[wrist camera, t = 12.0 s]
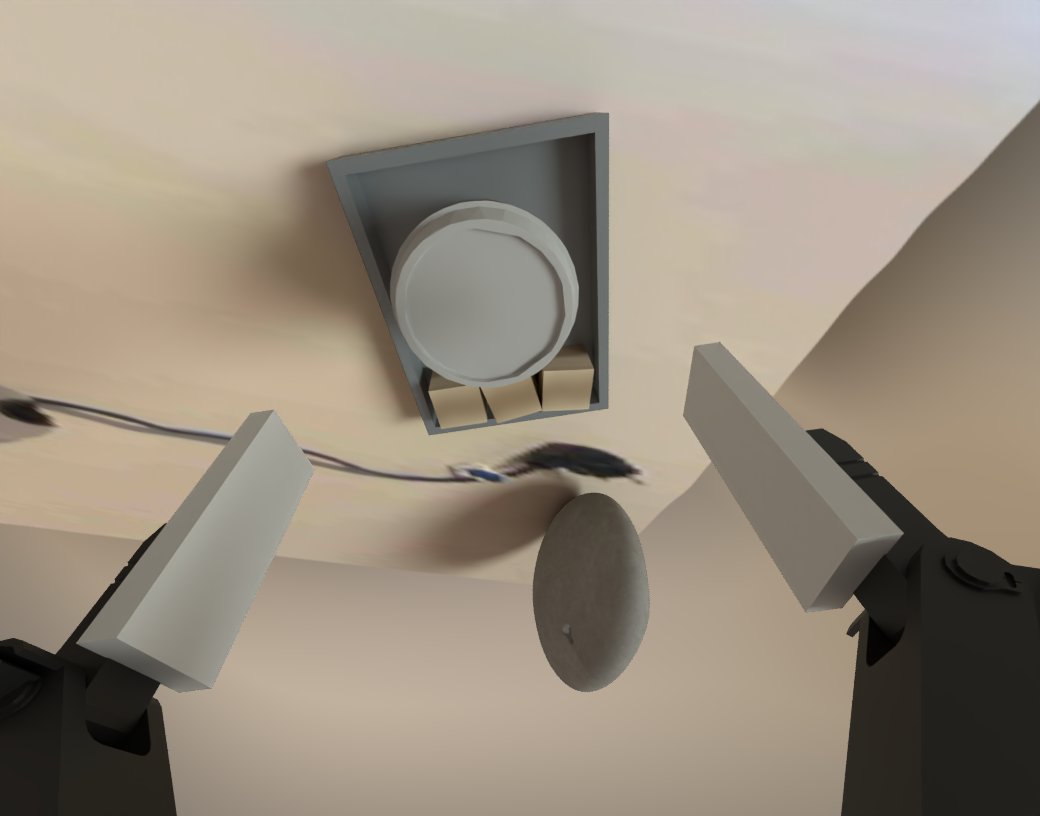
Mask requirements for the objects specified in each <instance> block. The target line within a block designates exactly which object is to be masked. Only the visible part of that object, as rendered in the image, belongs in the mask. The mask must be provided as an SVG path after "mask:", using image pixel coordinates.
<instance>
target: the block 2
mask: <svg viewBox="0 0 1040 816" xmlns="http://www.w3.org/2000/svg"><path fill="white" fill-rule="evenodd" d="M481 389H482V391H483V393H484V395H485V398H486V400H487V402H488V404H489V406H490V408H491V410H492V412H493V415H494V417H495V419H496V421H497V423H501V422H505V421H508V420H511V419H515V418H518V417H522V416H525V415H529V414H532V413H536V412H539V411H542V406H541V401H540V395H539V390H538V385H537V382H536V379H535V376H534V375H532V376H530V377H529V378H527V379H525V380H522V381H519V382H516V383H513V384H510V385H506V386H502V387H491V388H483V387H481Z"/></svg>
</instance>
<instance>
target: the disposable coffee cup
mask: <svg viewBox="0 0 1040 816" xmlns="http://www.w3.org/2000/svg"><path fill="white" fill-rule="evenodd" d="M578 297H579V286H578V281H577V276H576V271H575V267H574V264H573V262H572V260H571V258H570V255H569V253H568V251H567V249H566V247H565V246H564V244H563V243H562V241H561V240H560V239H559V238H558V236H557V235H556V234H555V233H554V232H553V231H552V230H551V229H550V228H549V227H548V226H547V225H546V224H545V223H544V222H543V221H541V220H540V219H538V218H537V217H535V216H533V215H532V214H530V213H529V212H527V211H525V210H523V209H520V208H518V207H515V206H513V205H509V204H504V203H501V202H498V201H495V200H488V199H485V200H477V201H469V202H462V203H458V204H455V205H452V206H448V207H446V208H443V209H442V210H440V211H438V212H436V213H434V214H432V215H430V216H429V217H427V218H426V219H425V220H423V221H422V222H421V223H420V224H419V225H418V226H417V227H416V228H415V229H414V230H413V231H412V232H411V233H410V234H409V236H408V237H407V238H406V240H405V241H404V243H403V244H402V246H401V247H400V249H399V252H398V255H397V257H396V260H395V262H394V265H393V268H392V274H391V280H390V299H391V304H392V309H393V314H394V317H395V319H396V322H397V324H398V327H399V329H400V331H401V333H402V334H403V336H404V338H405V339H406V341H407V343H408V345H409V347H410V349H411V350H412V351H413V352H414V353H415V354H416V355H417V356H418V358H419V359H420V360H421V361H422V362H423V363H424V364H425V365H426V366H427V367H429V368H430V369H432V370H433V371H435V372H436V373H438V374H440V375H441V376H443V377H444V378H446V379H449V380H451V381H454V382H457V383H460V384H463V385H466V386H473V387H483V388H491V387H502V386H506V385H510V384H513V383H516V382H519V381H522V380H525V379H527V378H529V377H530V376H532V375H534V374H535V373H537V372H539V371H540V370H541V369H543V368H544V367H545V366H546V365H547V364H548V363H549V362H551V361H552V359H553V358H554V357H555V356H556V354H557V353H558V352H559V351H560V349H561V347H562V346H563V344H564V342H565V341H566V339H567V337H568V336H569V334H570V331H571V329H572V327H573V324H574V322H575V318H576V313H577V309H578Z"/></svg>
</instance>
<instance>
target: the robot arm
mask: <svg viewBox="0 0 1040 816" xmlns="http://www.w3.org/2000/svg"><path fill="white" fill-rule="evenodd" d="M683 416H684V418H685V419H686V421H687V422H688V424H689V426H690V427H691V429H692V430H693V432H694V434H695V435H696V437H697V439H698V440H699V442H700V443H701V445H702V447H703V448H704V450H705V451H706V453H707V455H708V456H709V458H710V459H711V461H712V463H713V464H714V466H715V467H716V469H717V471H718V472H719V474H720V475H721V477H722V479H723V480H724V482H725V484H726V485H727V487H728V488H729V490H730V491H731V493H732V495H733V496H734V498H735V500H736V501H737V503H738V504H739V506H740V508H741V509H742V511H743V512H744V514H745V516H746V517H747V519H748V520H749V522H750V524H751V525H752V527H753V529H754V530H755V532H756V533H757V535H758V537H759V538H760V540H761V541H762V543H763V545H764V546H765V548H766V549H767V551H768V553H769V554H770V556H771V557H772V559H773V561H774V562H775V564H776V565H777V567H778V569H779V570H780V572H781V573H782V575H783V577H784V578H785V580H786V582H787V583H788V585H789V586H790V588H791V590H792V591H793V593H794V595H795V596H796V597H797V599H798V601H799V602H800V604H801V606H802V607H803V609H804V610H805V612H806V613H807V612H815V611H822V610H830V609H838V608H843V607H844V605H845V604H846V603H847V602H848V600H849V599H850V598H851V597H852V596H853V594H854V595H855V596H856V598H857V599H858V600H859V602H860V603H861V604H862V606H863V607H864V608H865V610H864V611H863V612H862V613H861V614H860V615H859V616H858V617H857V618H856V620H855V621H854V622H853V623H852V624H851V625H850V627H849V629H848V631H847V635H849V636H851V637H853V636H854V635H855V634H856V633H857V632H858V631H859V641H858V650H857V660H856V670H855V671H856V672H855V680H854V690H853V700H852V711H851V721H850V731H849V741H848V751H847V761H846V771H845V782H844V793H843V803H842V812H841V816H1040V569H1038V568H1031V567H1024V566H1017V565H1011V564H1010V563H1008V562H1007V561H1005V560H1004V559H1002V558H1001V557H999V556H997V555H996V554H995V553H993V552H992V551H990V550H987V549H985V548H983V547H981V546H978V545H976V544H974V543H972V542H968V541H964V540H959V539H955V538H948V537H947V536H945V535H944V534H943V533H942V532H941V531H940V530H938V529H937V528H936V527H935V526H934V525H933V524H932V523H931V522H930V521H929V520H928V519H927V518H926V517H925V516H924V515H923V514H922V513H921V512H919V511H918V510H917V509H916V508H915V507H914V506H913V505H912V504H911V503H910V502H909V501H908V500H907V499H906V498H905V497H904V496H902V494H901V493H899V492H898V491H897V490H896V489H895V488H894V487H893V486H892V485H891V484H890V483H889V482H888V481H887V480H886V479H885V478H884V477H882V476H879V475H878V472H877V471H876V470H875V469H874V468H873V467H872V466H871V465H870V464H869V463H868V462H864V460H863V459H864V458H863V457H862V456H861V455H860V454H858V453H857V452H856V451H855V450H854V449H853V448H852V447H851V446H850V445H849V444H848V443H847V442H846V441H844V440H842V439H840V438H839V437H837V436H835V435H833V434H831V433H829V432H828V431H826V430H824V429H815V430H807V431H805V430H804V429H803V428H802V427H801V426H800V425H799V424H798V423H797V422H796V421H795V420H794V419H793V418H792V417H791V416H790V415H789V413H788V412H786V410H784V408H783V407H782V406H781V405H780V404H779V403H778V402H777V401H776V400H775V399H774V398H773V397H772V396H771V395H770V394H769V393H768V392H767V391H766V390H765V388H764V387H763V386H762V385H761V384H760V383H759V382H758V381H757V380H756V379H755V378H754V377H753V376H752V375H751V374H750V373H749V372H748V371H747V370H746V369H745V368H744V367H743V366H742V365H741V364H740V363H739V361H738V360H737V359H736V358H735V357H734V356H733V355H732V354H731V353H730V352H729V351H728V350H727V349H726V348H725V347H724V346H723V345H722V344H721V343H720V342H718V343H711V344H704V345H698V346H694V352H693V358H692V364H691V370H690V376H689V383H688V389H687V395H686V401H685V407H684V413H683ZM314 470H315V469H314V467H313V466H312V464H311V463H310V461H309V460H308V458H307V457H306V456H305V454H304V453H303V451H302V450H301V448H300V447H299V445H298V444H297V442H296V441H295V439H294V438H293V436H292V435H291V434H290V432H289V431H288V429H287V428H286V426H285V425H284V423H283V422H282V420H281V419H280V417H279V416H278V414H277V413H276V412H275V410H269V411H262V412H255V413H250V415H249V416H248V417H247V419H246V420H245V421H244V423H243V424H242V425H241V427H240V428H239V429H238V431H237V432H236V433H235V434H234V436H233V437H232V438H231V440H230V441H229V442H228V444H227V445H226V446H225V448H224V449H223V450H222V452H221V453H220V454H219V456H218V457H217V458H216V460H215V461H214V462H213V463H212V465H211V466H210V467H209V469H208V470H207V471H206V473H205V474H204V475H203V477H202V478H201V479H200V481H199V482H198V483H197V485H196V486H195V487H194V489H193V490H192V491H191V492H190V494H189V495H188V496H187V498H186V499H185V500H184V502H183V503H182V504H181V506H180V507H179V508H178V510H177V511H176V512H175V514H174V515H173V516H172V517H171V519H170V520H169V521H168V523H165V524H164V525H163V526H161V527H160V528H159V529H158V530H157V531H156V532H155V533H153V534H152V535H151V536H150V537H149V538H148V539H147V540H145V541H144V542H143V544H142V545H141V546H140V548H139V549H138V550H137V551H136V552H135V554H134V555H133V557H132V558H131V559H130V560H129V561H128V566H125V567H124V568H123V569H122V570H121V572H120V573H119V574H118V576H117V577H116V578H115V583H113V584H111V585H110V586H109V587H108V588H107V590H106V591H105V592H104V594H103V595H102V596H101V597H100V599H99V600H98V601H97V603H96V604H95V605H94V606H93V608H92V609H91V610H90V611H89V613H88V614H87V615H86V617H85V618H84V619H83V620H82V622H81V623H80V624H79V626H78V627H77V628H76V629H75V631H74V632H73V633H72V635H71V636H70V637H69V638H68V640H67V641H66V642H65V644H64V645H63V646H62V647H61V649H60V650H59V651H58V652H57V653H56V654H55V655H54V654H52V653H50V652H47V651H45V650H43V649H41V648H38V647H36V646H34V645H32V644H29V643H27V642H25V641H22V640H19V639H15V638H11V639H7V640H3V641H0V816H177V815H176V807H175V800H174V793H173V786H172V778H171V771H170V764H169V758H168V749H167V743H166V735H165V728H164V721H163V714H162V707H161V705H160V703H159V701H158V700H157V699H155V698H153V695H154V694H155V692H156V690H157V688H158V687H159V685H160V684H162V685H164V686H166V687H168V688H170V689H173V690H175V691H177V692H179V693H180V692H187V691H195V690H203V689H211V688H212V687H213V685H214V683H215V681H216V678H217V676H218V674H219V672H220V670H221V668H222V666H223V664H224V661H225V659H226V657H227V655H228V653H229V651H230V649H231V647H232V644H233V642H234V640H235V638H236V636H237V634H238V632H239V629H240V627H241V625H242V623H243V621H244V619H245V617H246V614H247V612H248V610H249V608H250V606H251V604H252V602H253V600H254V597H255V595H256V593H257V591H258V589H259V587H260V585H261V582H262V580H263V578H264V576H265V574H266V572H267V570H268V567H269V566H270V563H271V561H272V559H273V557H274V555H275V553H276V551H277V549H278V546H279V544H280V542H281V540H282V538H283V536H284V534H285V532H286V529H287V527H288V525H289V523H290V521H291V519H292V517H293V514H294V512H295V510H296V508H297V506H298V504H299V502H300V500H301V497H302V495H303V493H304V491H305V489H306V487H307V485H308V483H309V480H310V478H311V476H312V474H313V472H314Z"/></svg>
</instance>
